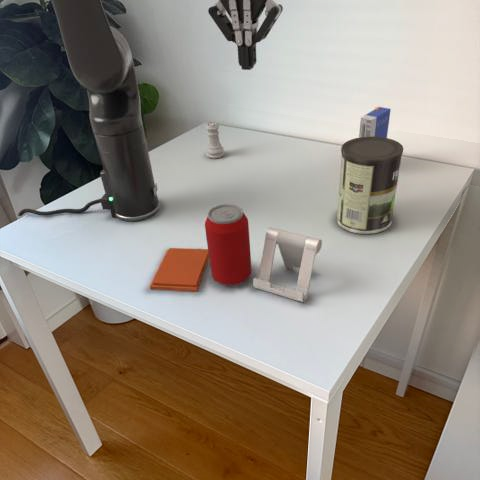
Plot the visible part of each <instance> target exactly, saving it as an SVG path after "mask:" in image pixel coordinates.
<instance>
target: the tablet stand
mask: <svg viewBox="0 0 480 480" xmlns="http://www.w3.org/2000/svg"><path fill="white" fill-rule="evenodd" d="M322 245H323V239H322V238H317V237H313V236H310V235H309V236H308V235H305V234H300V233H298V232H297V233H296V232H292V231H288V230H284V229H280V228H276V227H269V228H267V230H266V232H265V238H264V243H263V249H262V256H261V262H260V269H259V272H258V273H259V274H258V277H254V278H253V279H252V280H253V281H252V282H253V283H252V285H253V288H255V289H258V290H260V291H265V292H268V293H272V294H275V295H278V296H281V297H285V298H288V299H291V300H294V301H297V302H301V303H305V302H306V300H307V298H308V294H309V289H310V283H311V279H312V275H313V271H314V266H315V265H314V264H315V259H316V256H317V255H318V254H319V253H320V251H321V249H322ZM277 246H278V250H279V253H280V255H281V258H282V261H283V265H284V267H285V268H286V269H288V270H290V271H291V270H292V271H294V268H298V269H299V273H298V278H297V282H296V287H295V289H294V288H291V287H287V286H285V287H284V286H280V285H277V284H273V283H272V282H271V278H272V277H271V276H272V270H273V264H274V258H275V252H276V248H277Z"/></svg>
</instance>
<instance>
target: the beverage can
mask: <svg viewBox="0 0 480 480" xmlns="http://www.w3.org/2000/svg"><path fill="white" fill-rule="evenodd" d="M204 230H205V238H206V245H207V249H208V254H209V261H208V262H209V266H210V274H211V277H212V279H213V280H214V282H216V283H218V284H221V285H225V286H236V285H240V284H242V283H244V282H245V281H247V280H248V279H249V278H250V277H251V275H252V257H251V255H252V254H251V239H250V226H249V219H248V217H247V216H246V214H245V213H244V210H243V209H242V207H241V206H239V205H237V204H233V203H232V204H231V203H225V204H224V203H223V204H219V205H216V206H213V207H212V208H211V209H209V210H208V212H207V216H206V219H205V221H204Z"/></svg>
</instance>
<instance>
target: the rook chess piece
mask: <svg viewBox="0 0 480 480" xmlns="http://www.w3.org/2000/svg"><path fill="white" fill-rule="evenodd" d="M219 128H220V125H219V124H218V121H217V120H213V121H212V120H209V121H207V122H206V125H205V129H206V130H207V135H208V144H207V147H206V156H207V158H209V159H213V160H214V159H215V160H216V159H221V158H222V157H224V155H225V151H224V149H225V148H224V146H222V143H221V141H220V137H219V134H220V132H219Z"/></svg>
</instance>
